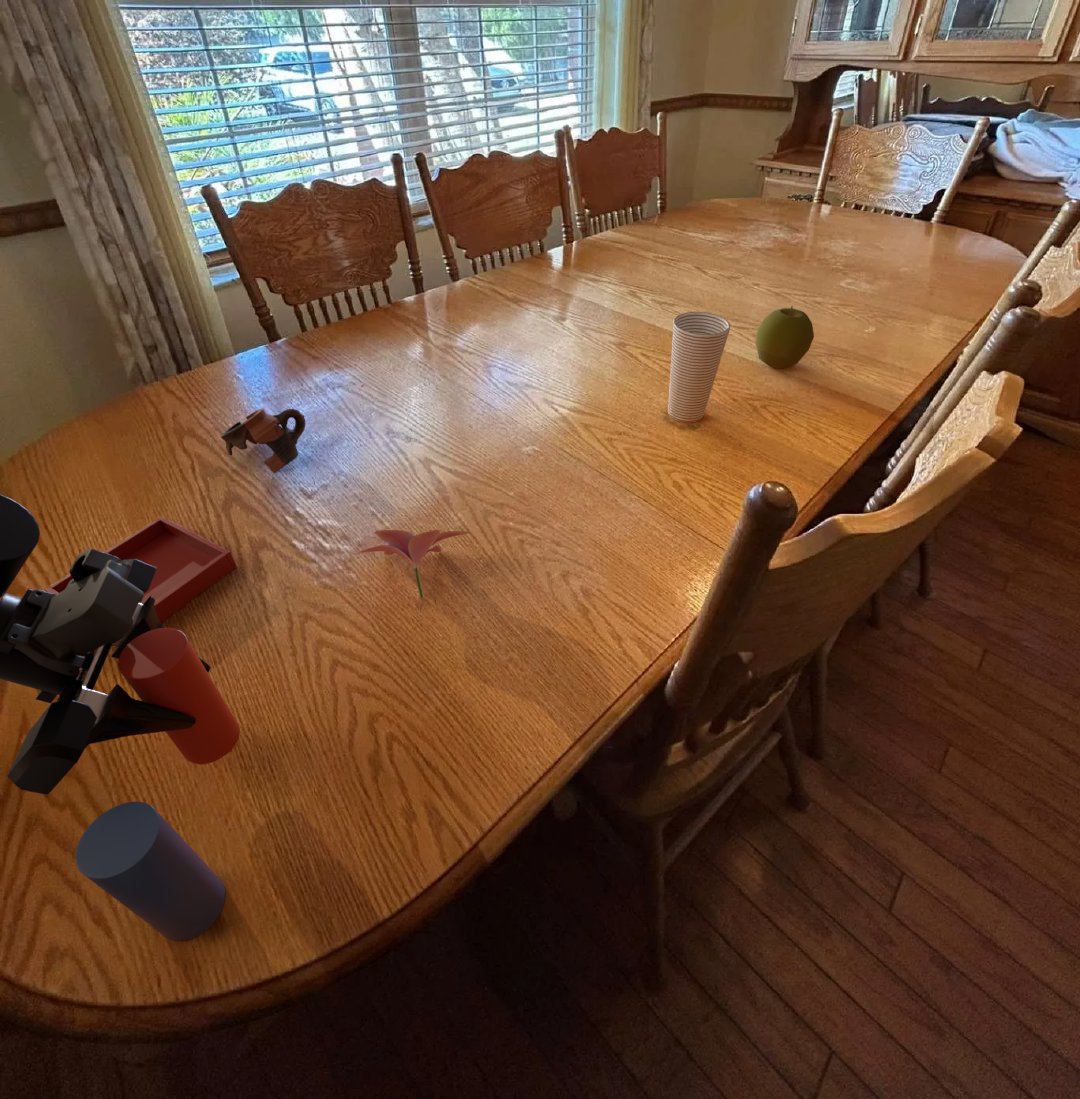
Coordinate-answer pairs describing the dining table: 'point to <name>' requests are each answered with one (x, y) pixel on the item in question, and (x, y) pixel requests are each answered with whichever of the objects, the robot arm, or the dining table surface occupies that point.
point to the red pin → (180, 692)
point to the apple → (784, 337)
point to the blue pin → (151, 871)
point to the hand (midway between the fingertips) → (201, 696)
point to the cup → (694, 362)
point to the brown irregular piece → (268, 435)
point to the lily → (411, 545)
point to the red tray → (170, 564)
